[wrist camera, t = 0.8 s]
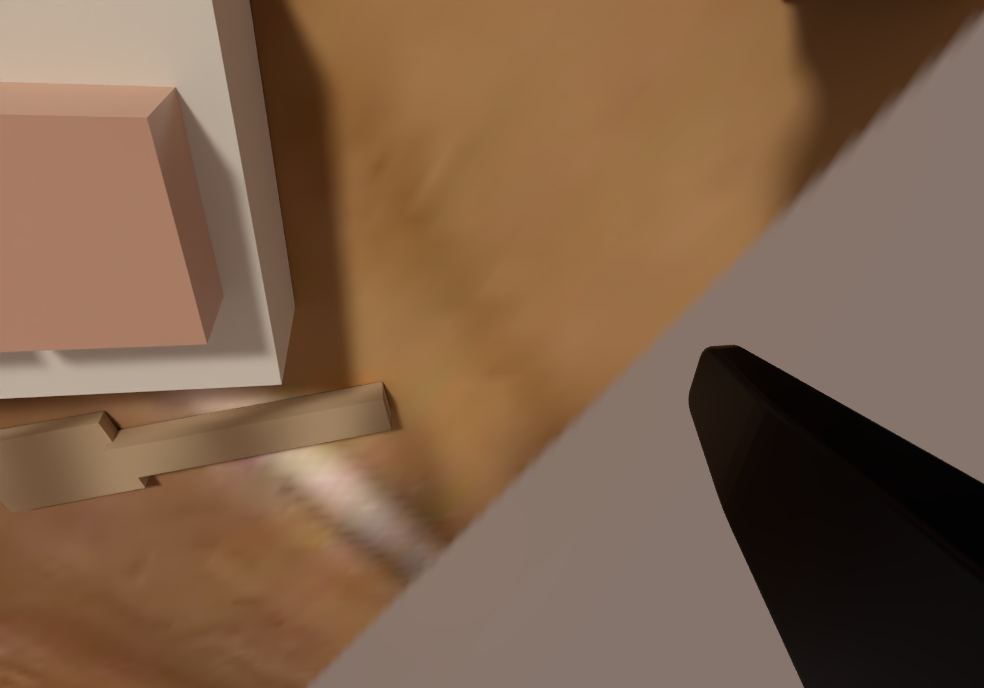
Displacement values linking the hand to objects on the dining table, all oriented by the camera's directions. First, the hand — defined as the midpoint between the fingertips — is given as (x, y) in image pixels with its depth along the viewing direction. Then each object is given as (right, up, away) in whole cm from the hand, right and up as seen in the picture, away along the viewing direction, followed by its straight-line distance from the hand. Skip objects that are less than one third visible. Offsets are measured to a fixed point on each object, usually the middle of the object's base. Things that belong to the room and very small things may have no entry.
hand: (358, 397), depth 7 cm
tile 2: (-7, +4, +6) cm, 10 cm away
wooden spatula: (-9, -3, +15) cm, 18 cm away
